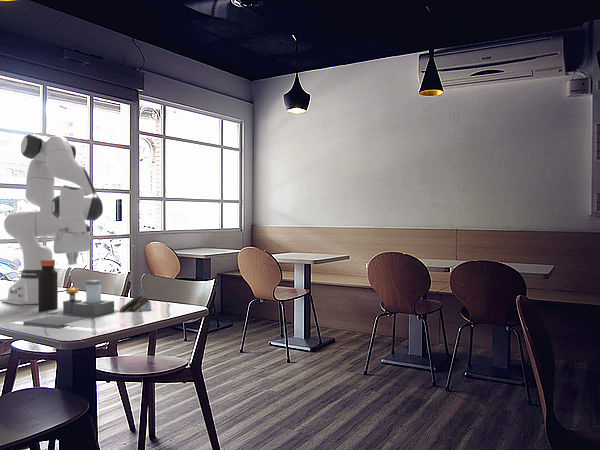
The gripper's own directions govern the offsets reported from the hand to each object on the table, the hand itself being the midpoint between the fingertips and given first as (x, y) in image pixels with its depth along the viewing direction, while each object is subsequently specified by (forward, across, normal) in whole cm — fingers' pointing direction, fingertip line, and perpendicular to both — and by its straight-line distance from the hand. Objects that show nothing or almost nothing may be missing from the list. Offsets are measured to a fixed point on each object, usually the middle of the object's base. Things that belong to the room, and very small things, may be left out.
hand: (72, 264), depth 194 cm
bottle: (+19, +5, +13) cm, 23 cm away
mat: (+19, -16, -2) cm, 25 cm away
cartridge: (+18, -2, -9) cm, 20 cm away
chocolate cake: (+19, +6, -23) cm, 31 cm away
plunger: (+15, 0, 0) cm, 15 cm away
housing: (+19, -1, -6) cm, 20 cm away
